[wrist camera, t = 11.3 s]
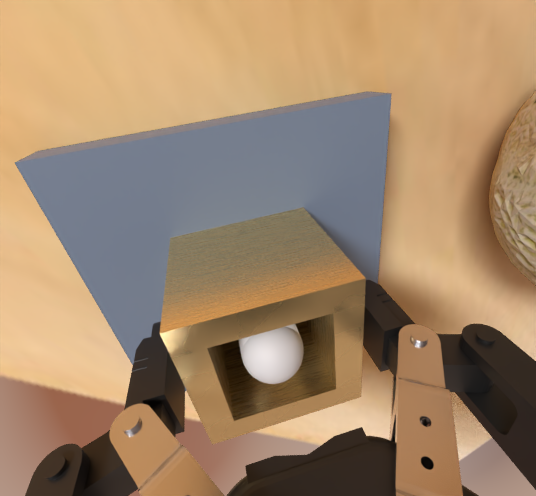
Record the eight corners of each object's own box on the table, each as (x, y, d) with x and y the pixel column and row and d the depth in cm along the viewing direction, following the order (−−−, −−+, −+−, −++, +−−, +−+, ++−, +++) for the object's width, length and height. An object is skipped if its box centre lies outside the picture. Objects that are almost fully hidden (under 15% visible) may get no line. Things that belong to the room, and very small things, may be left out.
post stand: (367, 91, 14) (534, 105, 7) (359, 316, 22) (437, 424, 15) (37, 151, 12) (-149, 243, 6) (156, 373, 20) (139, 526, 13)
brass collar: (303, 207, 14) (365, 278, 9) (311, 305, 18) (360, 396, 13) (170, 237, 14) (159, 333, 9) (205, 334, 17) (212, 444, 12)
